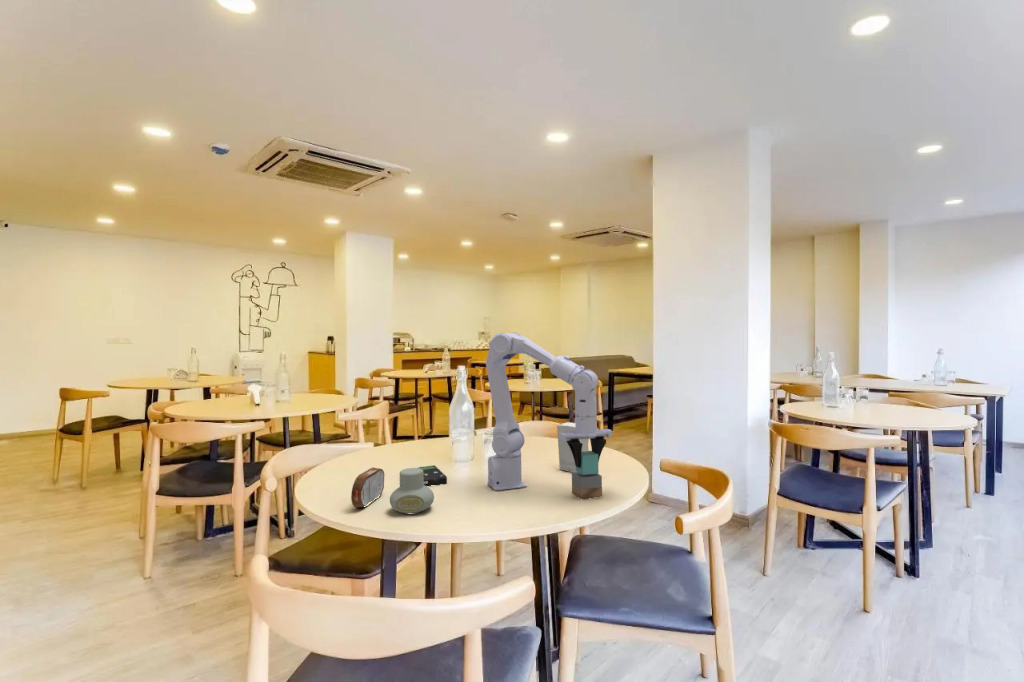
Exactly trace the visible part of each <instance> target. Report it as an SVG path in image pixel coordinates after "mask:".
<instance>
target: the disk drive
mask: <svg viewBox="0 0 1024 682" xmlns="http://www.w3.org/2000/svg"><path fill="white" fill-rule="evenodd" d="M418 468H420V469H422V470H423V478H424V485H425V486H429V487H432V486H431V485H436V486H441V485H440V484H443V485H448V476H447V475H445V474H444V473H443V472H442V470H440V469H439V468H438V466H436V465H427V466H418Z"/></svg>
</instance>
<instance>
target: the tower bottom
mask: <svg viewBox="0 0 1024 682" xmlns="http://www.w3.org/2000/svg"><path fill="white" fill-rule="evenodd" d="M571 493H572V494H573V496H575V495H576V497H577V498H578V497H579V499H580V500H581V499H582V500H583V499H584V500H590V499H589V498H591V499H595V498H594V497H599V498H601V497H600V496H602V497H603V487H598V488H589V489H580V488H578V487H577V486H575V485H574V484H572V483H571ZM582 500H581V501H582Z"/></svg>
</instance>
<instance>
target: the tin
mask: <svg viewBox="0 0 1024 682" xmlns="http://www.w3.org/2000/svg"><path fill="white" fill-rule="evenodd" d="M384 488H385V471H384V469H382V468H379V467H370V468H369V469H367V470H365V471H364V472H362V473H359V474H358V476H356V477H355V480H354V482H353V483H352V489H351V495H350V499H351V500H350V501H351V505H352V506H353V507H354V508H359V507H364V506H366V505H367V504H368V503H369V502H371V501H373V500H374V499H375V498H377V497H378V496H379V495H381V496H382V494H383V492H384Z"/></svg>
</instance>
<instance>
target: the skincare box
mask: <svg viewBox="0 0 1024 682" xmlns="http://www.w3.org/2000/svg"><path fill="white" fill-rule="evenodd" d="M556 429H557V444H558V462H559V471H564V470H565V472H570V473H572V472H577V471H576V466H575V461H574V457H573V454H572V452H571V449H570V447H569V445H568V443H567V441H565V442H563V441H561V440H560V433H566V432H571V431H575V422H570V421H566V422H563V423H559V424H557V426H556ZM579 441H580V443H582V444H583V445H582V451H581V452H583V451H590V450H589V439H581V440H579Z"/></svg>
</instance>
